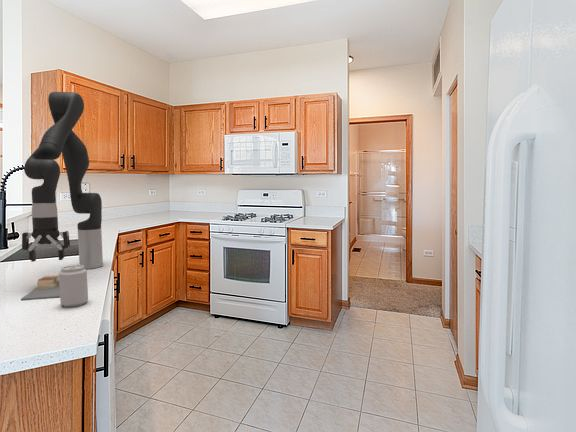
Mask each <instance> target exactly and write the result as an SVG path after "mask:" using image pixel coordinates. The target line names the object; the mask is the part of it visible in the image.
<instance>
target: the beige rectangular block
mask: <svg viewBox="0 0 576 432" xmlns="http://www.w3.org/2000/svg"><path fill="white" fill-rule="evenodd" d="M36 281H37V282H36V285H37V287H36V288H37V289H52V288H54V287H55V286H56V285H57V284H59V274H46V275H44V276H42V277H41V278H38V280H36Z"/></svg>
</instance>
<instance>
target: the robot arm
mask: <svg viewBox="0 0 576 432" xmlns="http://www.w3.org/2000/svg"><path fill="white" fill-rule="evenodd" d="M47 102H48V107H49V112H50V113H51V116H52V120H53V122H54V124H53V125H51V126H50V127H49V128H48V129H47V130H46V131H45V132H44V134H43V135H42V137H41V139H40V143H39V145H38V147H37V148H36V149H35V150H34V152H32V154H31V155H30V156H29V157H28V158H27V159H26V161H25V163H24V166H23V168H24V169H23V170H24V174H25V176H26V177H28V178H29V179H31V180H43V182H42V184H41V185H37V186H34V187H32V189H31V202H32V204H31V221H32V232H28V231H27V232H23V233H21V250H22V251H23V250H24V251H28V259H29V261H31V262H36V261H37V251H36V248H37V247H38V246H39V245H45V244H46V245H54V247H56V248H57V249H58V261H62V260H63V259H64V258H65V249H68V248H69V247H70V246H71V241H70V232H69V231H68V230H66V231H65V230H64V231H59V221H58V220H59V219H58V206H57V197H56V196H57V194H56V193H57V192H56V191H57V187H58V183H59V180H60V176H61V167H60V165H59V163H58V162H57V161H56V160H58V159H59V158H60V157H61V156H62V159H63V163H64V167H65V171H66V176H67V181H68V186H69V187H68V188H69V196H70V204H71V207H72V210H73V211H74V213H76V214H89V217H88V218H87V219H85V220H82V221H80V222H78V223H77V241H78V243H77V245H78V260H79V261H78V262H79V263H78V265H83V266H84V268H85V269H86V270H89V269H98V268H102V267H103V266H104V262H103V261H104V258H103V238H102V237H103V236H102V234H103V233H102V221H103V220H102V217H103V212H102V210H103V205H102V198H101V195H100V194H99V193H98V192H83V189H82V183H83V179H84V177H85V175H86V173H87V171H88V168H89V166H90V159H89V158H90V157H89V152H88V149H87V147H86V145H85V144H84V142H83V141H82V139H80V137H79V136H78V135H77V134H76V133H75V132H74V130H73V129H74V128H75V126H76V124H77V123H78V121H79V120H80V118H81V117H82V115H83V113H84V109H85V101H84V99H83V97H82V96H81V94H80V93H78V92H74V91H52V92H49V94H48V100H47ZM61 154H62V155H61ZM31 237H32V238H33V239H34V240H33V242H32V243H31V245H30V239H31ZM59 237H61V238H62V239H63V243H62V241H60V240H59Z"/></svg>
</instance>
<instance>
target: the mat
mask: <svg viewBox="0 0 576 432" xmlns="http://www.w3.org/2000/svg"><path fill="white" fill-rule="evenodd" d="M55 298H59V299H60V286H59V284H57V285H56V286H55V287H54V288H52V289H37V287H35V288H34V289H33V290H32V291H29V292H28V293H27V294H25V295H24V296H23V297H22V298H20V300H21V301H31V300H42V299H43V300H46V299H55Z"/></svg>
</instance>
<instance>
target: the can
mask: <svg viewBox="0 0 576 432" xmlns="http://www.w3.org/2000/svg"><path fill="white" fill-rule="evenodd" d="M58 275H59V286H60V297H59V301H60V302H59V303H60V304H61V305H62V306H63V307H66V308H75V307H79V306H82V305H84V304H85V303H86V302H87V301H89V291H88V289H89V288H88V269H85V268H84V266H83V265H80V264H71V265H66V266H63V267H61V268H60V271H59V273H58Z"/></svg>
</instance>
